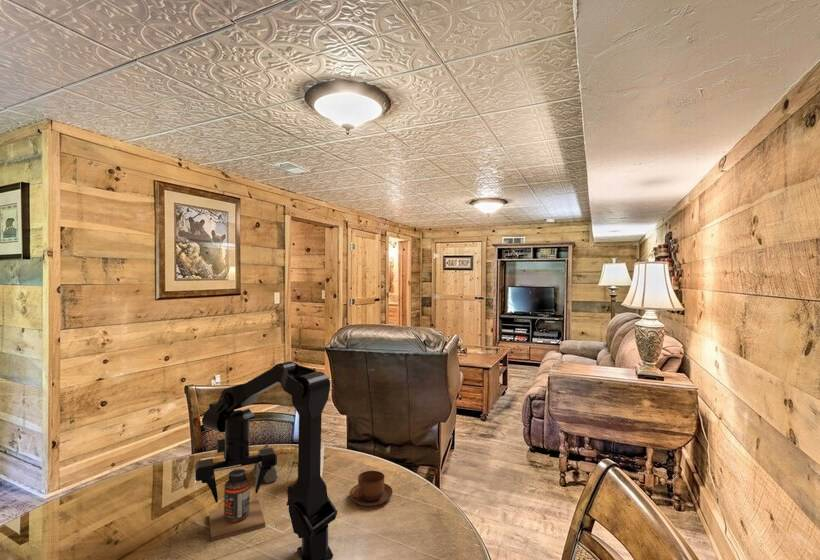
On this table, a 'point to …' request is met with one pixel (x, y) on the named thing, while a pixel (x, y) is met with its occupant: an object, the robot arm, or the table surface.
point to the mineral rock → (271, 473)
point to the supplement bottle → (236, 496)
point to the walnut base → (226, 529)
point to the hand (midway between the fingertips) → (236, 497)
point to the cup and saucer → (371, 489)
